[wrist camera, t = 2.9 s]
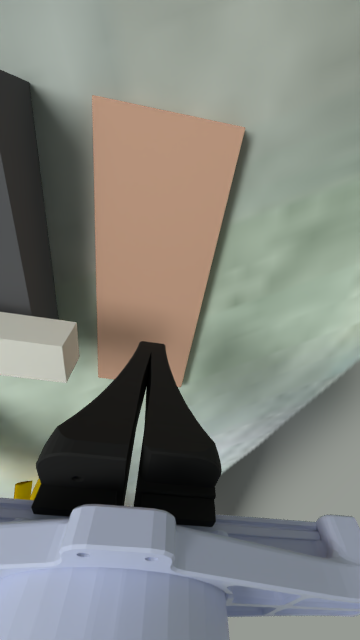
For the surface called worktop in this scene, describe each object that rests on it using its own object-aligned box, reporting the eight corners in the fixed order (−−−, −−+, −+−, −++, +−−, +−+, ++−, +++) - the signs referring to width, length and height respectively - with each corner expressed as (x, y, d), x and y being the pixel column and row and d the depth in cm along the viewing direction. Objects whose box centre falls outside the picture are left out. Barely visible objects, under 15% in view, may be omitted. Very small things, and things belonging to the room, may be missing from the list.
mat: (181, 381, 22) (181, 387, 22) (100, 372, 22) (98, 377, 21) (242, 128, 12) (245, 127, 12) (96, 97, 12) (92, 94, 11)
